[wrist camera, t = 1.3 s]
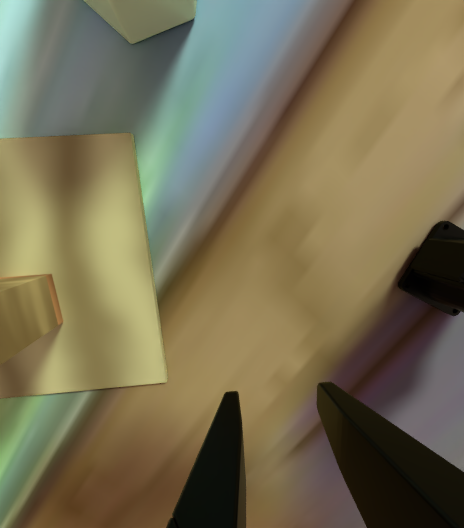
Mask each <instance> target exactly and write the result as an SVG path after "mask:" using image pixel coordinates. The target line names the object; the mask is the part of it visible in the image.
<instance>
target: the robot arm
mask: <svg viewBox="0 0 464 528" xmlns="http://www.w3.org/2000/svg"><path fill="white" fill-rule="evenodd" d="M443 226H444V228H443ZM405 284H406V286H405ZM398 287H399V288H400V289H401V290H403V291H405V292H407V293H409V294H411V295H413V296H415V297H417V298H418V299H420V300H422V301H424V302H426V303H428V304H430V305H432V306H434V307H436V308H438V309H440V310H442V311H443V312H445V313H447V314H450V315H452V316H456V315H458V314H459V313H460V312H461V311H462V312H464V230H463V229H461V228H459V227H458V226H456V225H454V224H453V223H451V222H449V221H440V222H438V223H437V225H436V226H435V228H434V229H433V231H432V232H431V234H430V235H429V237H428V238H427V240H426V241H425V243H424V244H423V246H422V248H421V249H420V251H419V252H418V254H417V255H416V257H415V258H414V260H413V261H412V263H411V264H410V266H409V267H408V269H407V270H406V272H405V274H404V275H403V277H402V278H401V280H400V281H399V283H398ZM317 409H318V412H319V415H320V418H321V421H322V423H323V426H324V429H325V431H326V434H327V437H328V440H329V442H330V445H331V448H332V450H333V453H334V456H335V458H336V461H337V464H338V466H339V469H340V471H341V473H342V475H343V478H344V480H345V482H346V484H347V486H348V488H349V491H350V493H351V495H352V497H353V499H354V501H355V503H356V505H357V508H358V510H359V512H360V514H361V516H362V518H363V520H364V522H365V524H366V527H367V528H464V472H463V471H461V470H460V469H458V468H457V467H455V466H454V465H453V464H451V463H450V462H448V461H447V460H445V459H444V458H442V457H441V456H439V455H438V454H436V453H435V452H433V451H432V450H430V449H429V448H428V447H426V446H425V445H423V444H422V443H420V442H419V441H417V440H416V439H414V438H413V437H411V436H410V435H408V434H407V433H406V432H404V431H403V430H401V429H400V428H398V427H397V426H395V425H394V424H392V423H391V422H389V421H388V420H386V419H385V418H383V417H382V416H381V415H379V414H378V413H376V412H375V411H373V410H372V409H370V408H369V407H367V406H366V405H364V404H363V403H361V402H360V401H359V400H357V399H356V398H354V397H353V396H351V395H350V394H348V393H347V392H345V391H344V390H342V389H341V388H339V387H338V386H337V385H335V384H334V383H332V382H321V383H318V385H317ZM172 516H173V518H170V520H169V522H168V525H167V527H166V528H246V477H245V461H244V445H243V430H242V418H241V410H240V402H239V394H238V392H237V391H230V392H226V393H225V394H224V396H223V398H222V401H221V403H220V405H219V408H218V410H217V412H216V414H215V417H214V419H213V421H212V424H211V426H210V428H209V431H208V433H207V435H206V438H205V440H204V442H203V444H202V447H201V449H200V451H199V454H198V456H197V458H196V461H195V463H194V465H193V467H192V470H191V472H190V474H189V477H188V479H187V481H186V484H185V486H184V488H183V490H182V493H181V495H180V497H179V500H178V502H177V504H176V507H175V509H174V511H173V514H172Z"/></svg>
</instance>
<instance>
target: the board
mask: <svg viewBox="0 0 464 528" xmlns="http://www.w3.org/2000/svg"><path fill="white" fill-rule="evenodd" d="M41 274H52V277H53V281H54V285H55V289H56V293H57V297H58V301H59V305H60V310H61V314H62V318H63V322H62V323H61V324H60V325H58V326H57V327H55V328H54V329H52V330H51V331H49V332H48V333H46V334H45V335H43V336H42V337H41V338H39V339H38V340H36V341H35V342H33V343H32V344H30V345H29V346H27V347H26V348H25V349H23V350H22V351H20V352H19V353H17V354H16V355H14V356H13V357H11V358H10V359H9V360H7V361H6V362H4V363H3V364H1V365H0V398H11V397H21V396H31V395H42V394H52V393H62V392H73V391H83V390H93V389H104V388H114V387H124V386H135V385H145V384H155V383H166V382H167V379H168V374H167V367H166V360H165V353H164V346H163V339H162V332H161V325H160V318H159V311H158V304H157V297H156V290H155V283H154V276H153V269H152V262H151V255H150V248H149V241H148V234H147V226H146V219H145V212H144V205H143V198H142V191H141V184H140V177H139V170H138V163H137V156H136V149H135V142H134V136H133V135H132V134H131V133H114V134H92V135H70V136H48V137H25V138H3V139H0V277H14V276H28V275H41Z"/></svg>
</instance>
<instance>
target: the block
mask: <svg viewBox="0 0 464 528" xmlns="http://www.w3.org/2000/svg"><path fill="white" fill-rule="evenodd" d="M62 322H63V318H62V314H61V310H60V305H59V301H58V297H57V293H56V289H55V285H54V281H53V277H52V274H41V275H28V276H14V277H0V365H1V364H3V363H4V362H6V361H7V360H9V359H10V358H11V357H13V356H14V355H16V354H17V353H19V352H20V351H22V350H23V349H25V348H26V347H27V346H29V345H30V344H32V343H33V342H35V341H36V340H38V339H39V338H41V337H42V336H43V335H45V334H46V333H48V332H49V331H51V330H52V329H54V328H55V327H57V326H58V325H60V324H61V323H62Z"/></svg>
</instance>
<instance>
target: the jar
mask: <svg viewBox="0 0 464 528" xmlns="http://www.w3.org/2000/svg"><path fill="white" fill-rule="evenodd" d="M83 1H84V2H86V3H87V4H88V5H89V6H90V7H91V8H92V9H93V10H94V11H95V12H96V13H98V14H99V15H100V16H101V17H102V18H103V19H104V20H105V21H106V22H107V23H109V24H110V25H111V26H112V27H113V28H114V29H115V30H116V31H117V32H118V33H119V34H121V35H122V36H123V37H124V38H125V39H126V40H127V41H128V42H129V43H131V44H134V43H137V42H139V41H141V40H144V39H146V38H149V37H151V36H153V35H156V34H158V33H161V32H163V31H166V30H168V29H170V28H173V27H175V26H178V25H180V24H183V23H185V22H188V21H190V20H193V19H194V17H195V14H196V4H197V0H83Z"/></svg>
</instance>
